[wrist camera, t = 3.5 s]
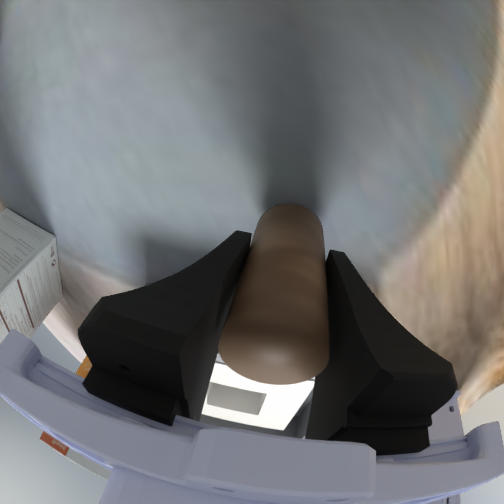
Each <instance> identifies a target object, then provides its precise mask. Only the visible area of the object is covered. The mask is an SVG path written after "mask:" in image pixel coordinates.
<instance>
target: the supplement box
mask: <svg viewBox="0 0 504 504" xmlns="http://www.w3.org/2000/svg"><path fill="white" fill-rule="evenodd" d="M62 296H63V291H62V284H61V277H60V270H59V262H58V253H57V244H56V237H55V236H54V235H52V234H50V233H49V232H47V231H45V230H43V229H41V228H40V227H38V226H36V225H34V224H33V223H31V222H29V221H28V220H26V219H24V218H22V217H21V216H19V215H18V214H16V213H14V212H13V211H11V210H9V209H8V208H5V209H4V210H3V211H2V212H0V344H1V342H2V341H3V340H4V338H5V337H6V336H7V334H8V333H9V332H10V331H11V329H15V330H17V331H18V332H20V333H21V334H23V335H25V336H26V337H28V338H29V339H30V338H31V336H32V335H33V334H34V332H35V331H36V329H37V328H38V327H39V326H40V324H41V323H42V322H43V320H44V319H45V318H46V316H47V315H48V314H49V313H50V311H51V310H52V309H53V308H54V306H55V305H56V304H57V303H58V301H59V300H60V299H61V298H62Z"/></svg>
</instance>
